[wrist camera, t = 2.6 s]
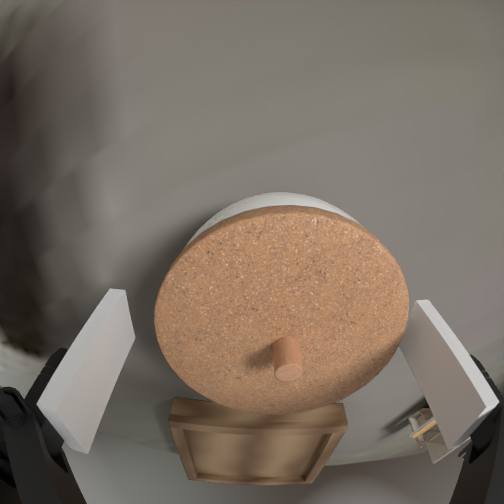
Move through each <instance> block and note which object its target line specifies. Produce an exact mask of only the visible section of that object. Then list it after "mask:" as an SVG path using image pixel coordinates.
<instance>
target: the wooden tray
mask: <svg viewBox="0 0 504 504" xmlns="http://www.w3.org/2000/svg"><path fill="white" fill-rule="evenodd" d="M168 422H169V425H170V428H171V432H172V435H173V438H174V441H175V444H176V447H177V450H178V452H179V455H180V458H181V460H182V463H183V466H184V469H185V471H186V474H187V477H188V479H189V480H196V481H204V482H214V483H226V484H242V485H293V484H294V485H295V484H311V483H313V481H314V480H315V479H316V477H317V476H318V474H319V473H320V471H321V470H322V468H323V467H324V465H325V464H326V462H327V461H328V459H329V457H330V456H331V454H332V453H333V451H334V449H335V448H336V446H337V444H338V443H339V441H340V439H341V438H342V436H343V434H344V433H345V431H346V429H347V427H348V422H347V418H346V414H345V410H344V405H343V403H336V404H329V405H327V406H324V407H321V408H317V409H314V410H310V411H305V412H299V413H292V414H279V415H275V414H258V413H250V412H244V411H240V410H236V409H233V408H229V407H227V406H224V405H221V404H218V403H216V402H209V401H199V400H190V399H182V398H174V399H173V403H172V407H171V411H170V415H169V419H168Z"/></svg>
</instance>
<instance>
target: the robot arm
mask: <svg viewBox="0 0 504 504" xmlns="http://www.w3.org/2000/svg"><path fill="white" fill-rule="evenodd" d="M134 340H135V334H134V330H133V326H132V321H131V316H130V312H129V307H128V302H127V297H126V292H125V290H120V289H109V291H108V292H107V293H106V295H105V296H104V298H103V299H102V300H101V302H100V303H99V305H98V306H97V308H96V309H95V310H94V312H93V313H92V315H91V316H90V318H89V319H88V321H87V322H86V324H85V325H84V327H83V328H82V330H81V331H80V333H79V334H78V336H77V337H76V339H75V340H74V342H73V343H72V345H71V347H70V348H69V349H64V348H60V349H59V350H58V351H56V352H55V353H54V354H52V355H51V357H50V358H49V360H48V361H47V363H46V364H45V367H44V368H43V369H42V371H41V372H40V373H41V374H39V376H38V377H37V379H36V380H35V382H34V384H33V385H32V387H31V389H30V390H29V392H28V394H27V396H26V397H25V399H23V397H22V396H21V394H20V393H19V391H17V390H16V389H15V388H12V387H3V388H1V389H0V504H87V503H86V501H85V499H84V497H83V495H82V493H81V491H80V489H79V487H78V484H77V482H76V480H75V478H74V475H73V473H72V471H71V468H70V466H69V463H68V461H67V458H66V455H65V453H64V451H63V449H62V448H61V447H62V445H63V442H64V441H65V442H66V444H67V445H68V446H69V447H70V448H71V449H74V450H76V451H79V452H82V453H85V454H88V453H89V450H90V448H91V445H92V442H93V440H94V437H95V434H96V432H97V429H98V426H99V424H100V421H101V418H102V416H103V413H104V411H105V408H106V406H107V403H108V401H109V398H110V396H111V393H112V391H113V388H114V386H115V384H116V381H117V379H118V376H119V374H120V372H121V369H122V367H123V365H124V362H125V360H126V358H127V356H128V353H129V351H130V349H131V347H132V344H133V342H134ZM399 347H400V349H401V351H402V352H403V354H404V356H405V358H406V360H407V362H408V364H409V366H410V368H411V370H412V372H413V374H414V376H415V378H416V380H417V382H418V384H419V386H420V388H421V390H422V392H423V394H424V396H425V398H426V400H427V403H428V405H429V407H430V409H431V411H432V413H433V416H434V418H435V420H436V422H437V425H438V427H439V429H440V431H441V434H442V436H443V438H444V441H445V443H446V446H447V448H448V449H451V448H453V447H456V446H459V445H461V444H462V443H463V442H464V441H465V440H466V439H467V438H468V437H469V436H470V438H471V440H472V441H471V442H470V443H469V444H468V445H467V446H466V447H465V448H464V449H463V450H462V451H461V452H460V453H459V455H458V456H459V457H460V456H461V455H462V454H463V453H464V452H466V455H464V457H463V458H464V462H463V465H462V469H461V472H460V475H459V479H458V482H457V484H456V487H455V490H454V493H453V496H452V498H451V501H450V503H449V504H504V398H503V397H502V395H501V393H500V392H499V390H498V389H497V387H496V385H495V384H494V382H493V381H492V379H491V378H489V377H490V376H489V375H488V373H487V372H485V369H484V367H483V366H482V364H481V363H480V361H478V360H477V359H476V358H475V357H474V356H473V355H469V354H468V352H467V351H466V350H465V348H464V347H463V345H462V344H461V343H460V341H459V340H458V338H457V337H456V336H455V334H454V333H453V332H452V330H451V329H450V327H449V326H448V325H447V323H446V322H445V321H444V320H443V318H442V317H441V316H440V314H439V313H438V312H437V310H436V309H435V308H434V307H433V305H432V304H431V303H430V302H429V300H416V301H415V304H414V307H413V309H412V312H411V315H410V317H409V320H408V322H407V325H406V328H405V332H404V335H403V338H402V340H401V342H400V344H399Z"/></svg>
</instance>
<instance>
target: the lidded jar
mask: <svg viewBox="0 0 504 504" xmlns="http://www.w3.org/2000/svg"><path fill="white" fill-rule="evenodd" d="M408 312H409V297H408V288H407V285H406V282H405V279H404V275H403V272H402V271H401V269H400V267H399V265H398V264H397V262H396V260H395V258H394V257H393V255H392V254H391V253H390V252H389V251H388V250H387V249H386V247H385V246H384V245H383V244H382V243H381V242H380V241H379V240H378V239H377V238H376V237H375V236H374V235H373V234H372V233H370V232H369V231H368V230H366V229H365V228H364V227H362V226H361V225H360V224H359V223H358V222H357V221H356V220H355V219H353V218H352V217H350V216H349V215H348V214H346V213H345V212H343V211H342V210H340V209H339V208H337V207H335V206H333V205H331V204H329V203H327V202H325V201H323V200H320V199H318V198H314V197H310V196H307V195H303V194H295V193H285V192H279V193H265V194H260V195H256V196H251V197H248V198H246V199H243V200H241V201H238V202H236V203H233V204H231V205H229V206H228V207H226V208H224V209H223V210H221V211H219V212H218V213H216V214H215V215H214V216H213V217H212V218H211V219H209V220H208V221H207V222H206V223H205V224H204V225H203V226H202V227H200V228H199V229H198V231H197V232H196V233H195V234H194V236H193V237H192V238H191V239H190V240H189V242H188V243H187V244H186V246H185V247H184V249H183V250H182V252H181V253H180V254H179V255H178V257H177V258H176V259H175V260H174V262H173V263H172V264H171V266H170V268H169V270H168V272H167V274H166V276H165V278H164V279H163V281H162V283H161V285H160V288H159V291H158V295H157V298H156V302H155V309H154V325H155V333H156V337H157V340H158V343H159V346H160V349H161V351H162V353H163V355H164V357H165V358H166V360H167V362H168V364H169V366H170V367H171V368H172V369H173V370H174V372H175V373H176V374H177V375H178V376H179V377H180V378H181V379H182V380H183V381H184V382H185V383H186V384H187V385H188V386H189V387H190V388H192V389H193V390H195V391H196V392H198V393H199V394H201V395H202V396H204V397H206V398H208V399H210V400H212V401H214V402H216V403H218V404H221V405H224V406H227V407H229V408H233V409H236V410H240V411H244V412H250V413H258V414H275V415H279V414H292V413H299V412H305V411H310V410H314V409H317V408H321V407H324V406H327V405H329V404H332V403H335V402H337V401H340V400H342V399H343V398H345V397H347V396H349V395H351V394H353V393H354V392H356V391H357V390H359V389H360V388H362V387H363V386H365V385H366V384H367V383H369V382H370V381H371V380H372V379H373V378H374V377H375V376H376V375H378V374H379V372H380V371H381V370H382V369H383V368H384V367H385V366H386V365H387V364H388V362H389V361H390V359H391V358H392V356H393V355H394V353H395V352H396V350H397V348H398V346H399V344H400V342H401V340H402V338H403V335H404V332H405V328H406V324H407V320H408Z"/></svg>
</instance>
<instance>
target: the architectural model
mask: <svg viewBox="0 0 504 504" xmlns="http://www.w3.org/2000/svg"><path fill="white" fill-rule="evenodd" d="M419 411H420V413H421V416H419V417H418V418H417V419H414V418H410V417H409V418H408V420H409V423H410V425H411V428H412V431H413V432H412V433H411V434H409V436H410V437H412V438H415V439H416V441H417V442H418V445H419V448H421V447H422V446H423V444H422V445H421V446H420V443H419V442H422V443H425V444H426V446H427V449H428V451H429V454H430V457H431V460H432V463H433V464H434V463H435V462H437V461H438V460H440V459H441V458H443V457H444V456H446V455H447V454H449V453H450V452H452V451H453V450H455V449H456V448H457V447H459V446H460V445H459V446H456V447H453V448H451V449H448V448H447V446H446V443H445V441H444V438H443V436H442V434H441V431H440V429H439V427H438V425H437V422H436V420H435V418H434V416H433V413H432V411H431V409H430V408H421V409H420V410H419ZM421 411H422V412H423V411H424V413H423V414H422V412H421ZM469 438H470V436H469V437H468V438H467V439H466V440H465V441H464V442H466V441H467V440H468V439H469ZM464 442H463V443H464ZM463 443H462V444H463ZM425 444H424V445H425Z"/></svg>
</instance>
